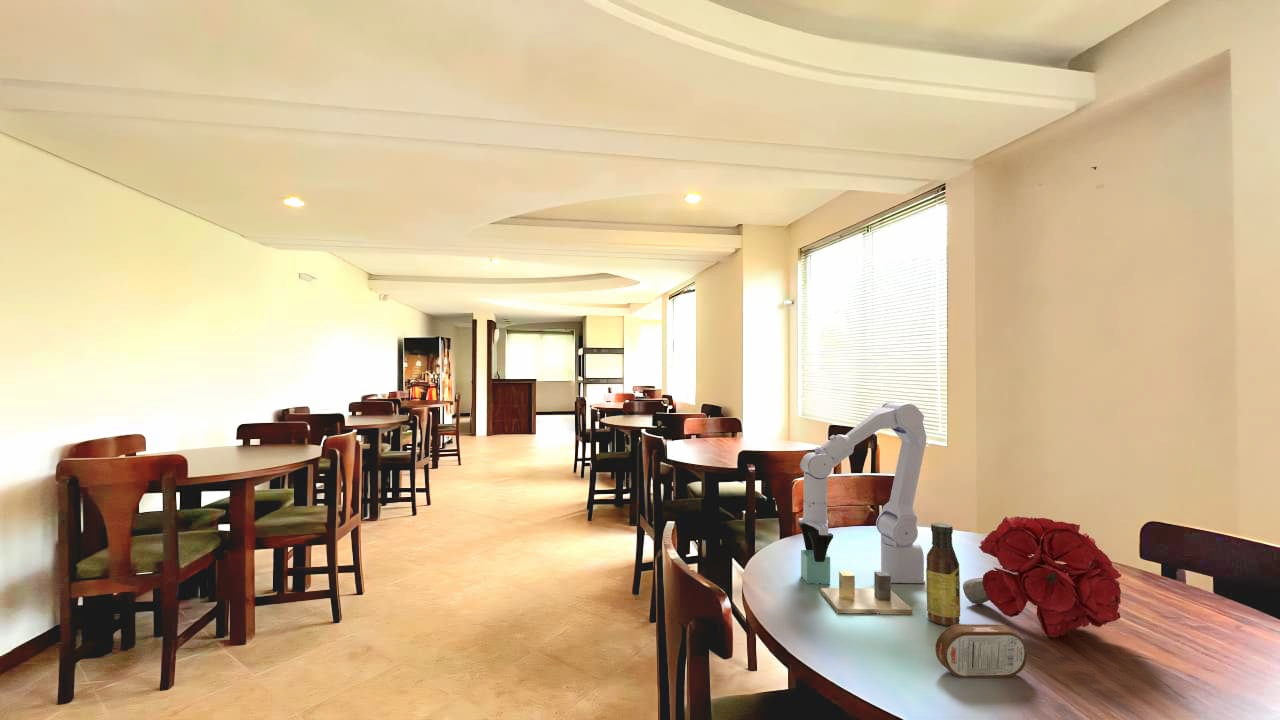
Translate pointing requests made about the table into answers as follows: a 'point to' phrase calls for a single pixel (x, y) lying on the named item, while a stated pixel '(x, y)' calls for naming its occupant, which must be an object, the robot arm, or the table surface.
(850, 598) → the brass post
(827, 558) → the pale aqua cube
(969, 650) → the tin
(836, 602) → the birch board
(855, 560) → the table surface
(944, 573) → the sauce bottle
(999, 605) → the bouquet
